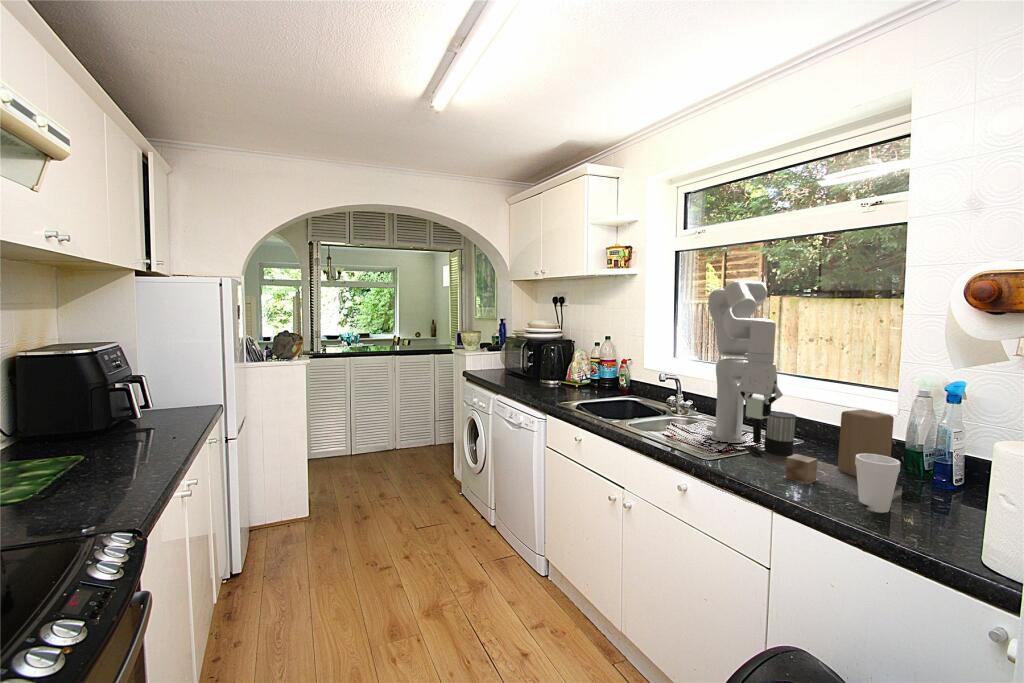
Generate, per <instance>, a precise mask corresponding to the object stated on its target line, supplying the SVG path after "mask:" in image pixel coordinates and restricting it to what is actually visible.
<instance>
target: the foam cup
mask: <svg viewBox="0 0 1024 683" xmlns="http://www.w3.org/2000/svg"><path fill="white" fill-rule="evenodd" d="M901 464H902V463H901V461H900V460H899V459H896V458H893V457H891V458H890V457H887V456H882V455H876V454H857V455H856V459H855V465H856V469H857V476H856V482H857V492H858V501H859V502H860V503H861V504H862V505H865V506H867V507H865V508H864V510H866V509H867V511H869V510H870V512H873V511H874V513H880V514H883V513H885V512H886V513H888V512H889V511H890V508H891V504H892V501H893V497H894V492H895V489H896V486H897V482H898V477H899V473H900V472H901Z"/></svg>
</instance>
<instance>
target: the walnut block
mask: <svg viewBox="0 0 1024 683" xmlns="http://www.w3.org/2000/svg"><path fill="white" fill-rule="evenodd" d="M785 465H786V466H785V476H786V477H787V478H786V479H788V478H791V479H794V480H793V481H795V480H798V481H797V482H799V481H802V482H805V483H804V484H806V483H808V482H810V481H812V480H815V479H816V478H817V469H818V458H815V457H810V456H805V455H803V454H799V453H798V454H797V453H795V454H793V455H792V456H786V463H785ZM791 479H790V480H791ZM802 482H801V483H802Z"/></svg>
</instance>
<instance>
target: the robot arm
mask: <svg viewBox="0 0 1024 683" xmlns="http://www.w3.org/2000/svg"><path fill="white" fill-rule="evenodd" d="M767 296H768V289H767V287H766V285H765V283H763V281H758V280H757V281H756V280H734V281H731V282H729V283H728V284H726V286H724V288H718V289H715V290H713V291H711V292H710V293H709V296H708V311H709V314H710V317H711V319H712V321H713V324H714V327H715V337H716V346H717V351H718V353H719V355H720V356H722V357H724V358H721V359H720V360H718V361H717V362H716V364H715V375H716V376H715V377H716V389H717V390H716V408H715V409H716V410H715V425H712V424H708V425H707V427H706V431H709V432H712V433H711V434H710V439H711V440H713V441H715V442H718V441H720V442H719V443H722V442H728V443H727V444H729V443H742V444H744V443H743V442H745V441H746V442H747V438H746V437H745V436H743V422H744V421H743V420H744V409H745V411H746V402H747V398H749V397H754V394H755V395H760V396H763V398H764V400H765V404H764V405H763V416H764V417H766V416H769V415H770V413H771V411H772V404H773V403H774V402H776V401H777V400H778V399H780V398H781V397H783V396H784V394H783V392H782V391H781V390H780V388H779V386H778V371H777V366H776V363H774V362H775V361H774V360H775V343H776V329H777V326H776V322H775V321H773V320H771V319H768V318H761V317H760V318H759V317H757V318H755V317H751V316H753V315H754V314H755V312H756V311H757V308H759V307H760V306H761V305H762V304H764V303H765V301H766V300H767ZM744 402H745V404H744ZM746 442H745V443H746Z"/></svg>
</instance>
